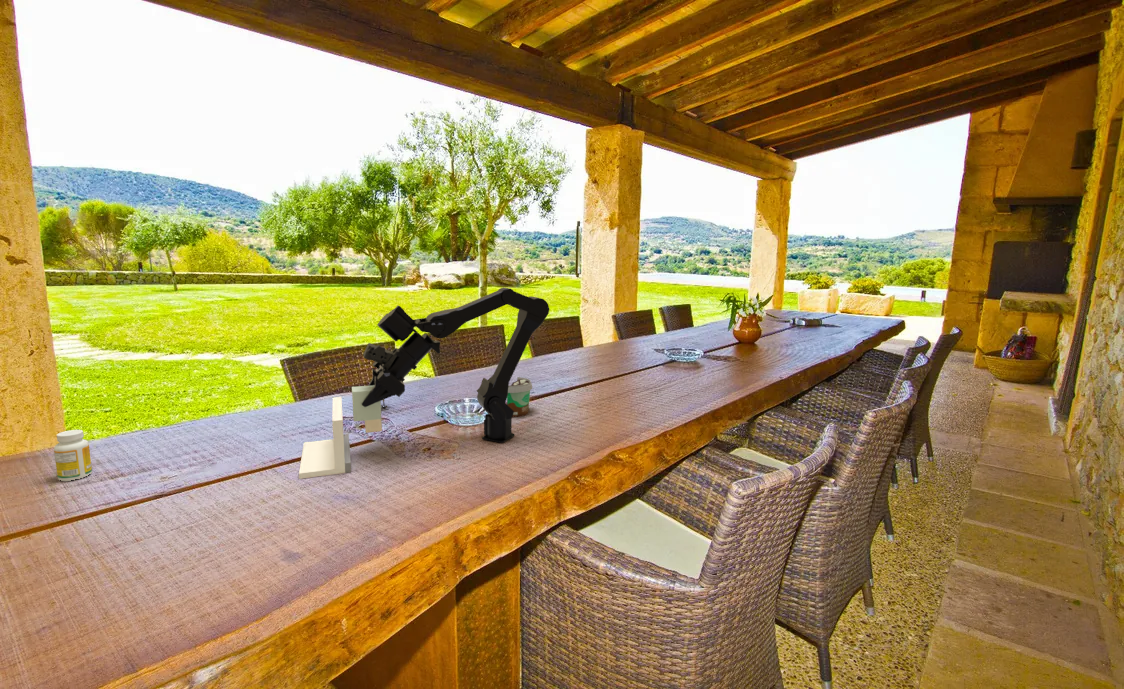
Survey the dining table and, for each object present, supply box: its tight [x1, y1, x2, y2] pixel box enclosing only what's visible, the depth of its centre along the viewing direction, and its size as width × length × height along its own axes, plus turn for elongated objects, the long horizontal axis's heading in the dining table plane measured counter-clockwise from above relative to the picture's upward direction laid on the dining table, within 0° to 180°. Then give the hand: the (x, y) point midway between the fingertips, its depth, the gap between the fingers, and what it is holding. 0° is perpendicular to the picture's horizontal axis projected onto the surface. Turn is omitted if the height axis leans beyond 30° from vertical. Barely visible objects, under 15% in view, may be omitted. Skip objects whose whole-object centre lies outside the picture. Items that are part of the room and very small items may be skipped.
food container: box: [506, 376, 533, 418], centre depth 158 cm, size 12×6×10 cm, turn 168°
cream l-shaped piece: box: [298, 396, 352, 480], centre depth 120 cm, size 10×20×12 cm, turn 23°
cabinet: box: [351, 385, 383, 434], centre depth 123 cm, size 6×5×10 cm
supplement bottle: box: [53, 429, 93, 482], centre depth 108 cm, size 5×5×10 cm
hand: (362, 402), depth 122 cm, fingers closed on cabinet, 5 cm apart
